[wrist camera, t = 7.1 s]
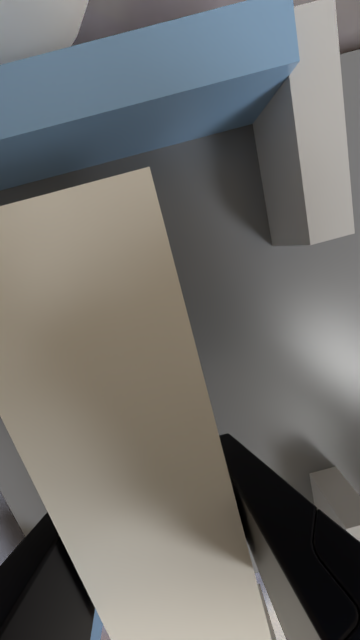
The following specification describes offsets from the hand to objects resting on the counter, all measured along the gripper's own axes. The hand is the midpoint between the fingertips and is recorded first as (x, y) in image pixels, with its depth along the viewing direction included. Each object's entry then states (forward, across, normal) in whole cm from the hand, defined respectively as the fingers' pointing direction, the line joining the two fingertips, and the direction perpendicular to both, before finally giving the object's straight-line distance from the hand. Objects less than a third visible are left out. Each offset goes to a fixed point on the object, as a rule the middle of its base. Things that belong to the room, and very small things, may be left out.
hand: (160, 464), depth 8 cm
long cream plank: (+1, 0, 0) cm, 1 cm away
